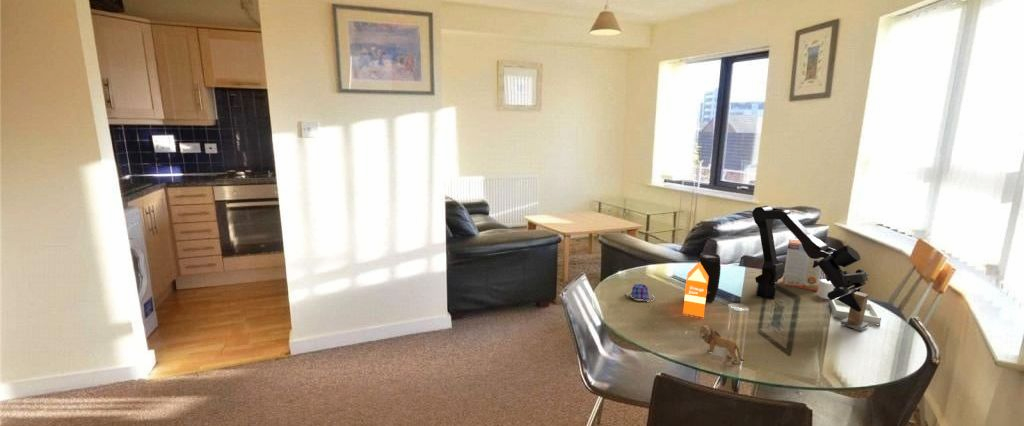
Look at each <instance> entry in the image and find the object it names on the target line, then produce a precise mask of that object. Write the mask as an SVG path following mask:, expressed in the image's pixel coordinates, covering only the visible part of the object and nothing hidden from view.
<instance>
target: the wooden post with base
mask: <svg viewBox="0 0 1024 426" xmlns="http://www.w3.org/2000/svg"><path fill="white" fill-rule="evenodd" d="M854 298H855V300H856V302H857V304H858V305H859V307H860V309H861V311H860V312H858V311H856V310H854V309H853V308H851V307H850V311H849V315H848V317H847V318H845V319H841V320H840V324H841V325H843V326H847V327H849V328H852V329H855V330H857V331H863V330H864V329H866V328H867V327H868V326H869V323H866V322H863V318H864V314H865V309H866V305H867V303H868V299H869V294H867V293H863V292H862V291H861V292H858V291H857V292H855V293H854Z"/></svg>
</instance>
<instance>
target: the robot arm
mask: <svg viewBox="0 0 1024 426" xmlns="http://www.w3.org/2000/svg"><path fill="white" fill-rule="evenodd" d="M751 214H752V215H751V216H752V218H753V220H754V223H755V225H756V226H757V227H758V230H759V236H760V237H759V238H760V241H761V242H760V243H761V249H762V256H763V263H762V266H761V274H760V275H758V276H756V277H754V278H755V283H756V284H757V286H756V290H755V296H756V297H758V298H763V299H769V300H774V298H775V297H776V290H777V287H776V283H777V282H778V281H779V280H781V279H783V276H784V273H785V271H784V269H785V268H784V263H783V262H781V263H780V262H779V260H778V259H777V253H776V246H775V239H774V233H773V228H772V226H773V223H774V220H779V221H780V222H781V223H783V225H785V227H786V228H787V229H788V230H789V231H790V233H791V234H792V235H793V236H794V237H795V238H796V239H797V241H800V242H801V244H802V247H803V249H804V251H805V252H806V254H807V255H808V256H809V257H810V258H812V259H819V258H823V259H821V260H820V261H818V260H815V261H814V264H813V268H815V267H818V266H819V267H820V268H821V270H822V271H821V272H823V274H824V275H825V276H826V278H825V279H826V280H827V281H830V282H831V283H832V285H833V286H834V287H835V288H834V289H833V291H831V292H829V293H828V295H827V296H828V298H829V299H828V300H829V302H830V301H831V300H833V299H835V298H837V299H836V300H839V301H841V302H842V303H844V304H846V305H848V306H849V307H851V308H853V309H854V310H856V311H858V312H860V311H861V309H860V307H859V305H858V304H857V302H856V300H855V298H854V293H855V292H857V291H858V292H861V293H862V290H863V286H865V285H866V284H867V283H866V282H868V281H869V279H868V276H869V274H868V273H867V271H866V270H864V269H863V268H860V269H858V268H857V269H856V270H855V272H851V273H849V272H848V271H847V270H843V268H846V267H848V266H851V265H852V264H854V263H857V262H859V261H861V255H860V254H859V252H858V251H857V250H855V249H854V248H853V247H851V246H849V244H844V245H843V246H841V247H840V248H838V249H835V248H832V247H830V246H828V245H827V243H825V242H823V241H822V240H821V239H819V238H817V237H815V236H814V235H813V234H811V233H810V232H809V231H808V230H807V228H806V227H805V226H804V225H803V224H801V222H800V221H798V219H797V218H796V217H795V216H794V215H793V214H792V212H791V210H789V209H784V208H783V209H782V208H778V207H777V208H775V207H771V206H770V205H762V206H757V207H754V209H753V210H752V213H751ZM829 257H830V258H829ZM842 267H843V268H842Z"/></svg>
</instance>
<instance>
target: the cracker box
mask: <svg viewBox="0 0 1024 426" xmlns="http://www.w3.org/2000/svg"><path fill="white" fill-rule="evenodd" d="M821 259H823V258H819V259H812V258H810V257H809V256H808V255H807V254H806V252H805V251H804V249H803V247H802V244H801V242H800V241H799V240H798V239H797V240H796V239H789V240H788V245H787V251H786V258H785V264H784V268H783V269H784V271H785V273H784V275H783V277H782V285H783V286H788V287H793V288H799V289H803V290H804V289H805V290H809V291H815V292H818V289H819V279H821V276H822V275H821V274H822V272H823V271H822V270H821V268H820V267H819V266H818V267H815V268H813V264H814V261H815V260H818V261H820V260H821Z"/></svg>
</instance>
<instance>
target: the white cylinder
mask: <svg viewBox="0 0 1024 426" xmlns="http://www.w3.org/2000/svg"><path fill="white" fill-rule="evenodd" d="M826 279H827V278H820V279H819V288H818V291H817V293H818V294H817V295H818V297H820V298H822V299H827V300H830V299H829V298H828V296H827V295H828V293H829V292H831V291H833V289H834V288H835V287H834V286H833V285H832V283H831V282H830V281H827V280H826Z"/></svg>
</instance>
